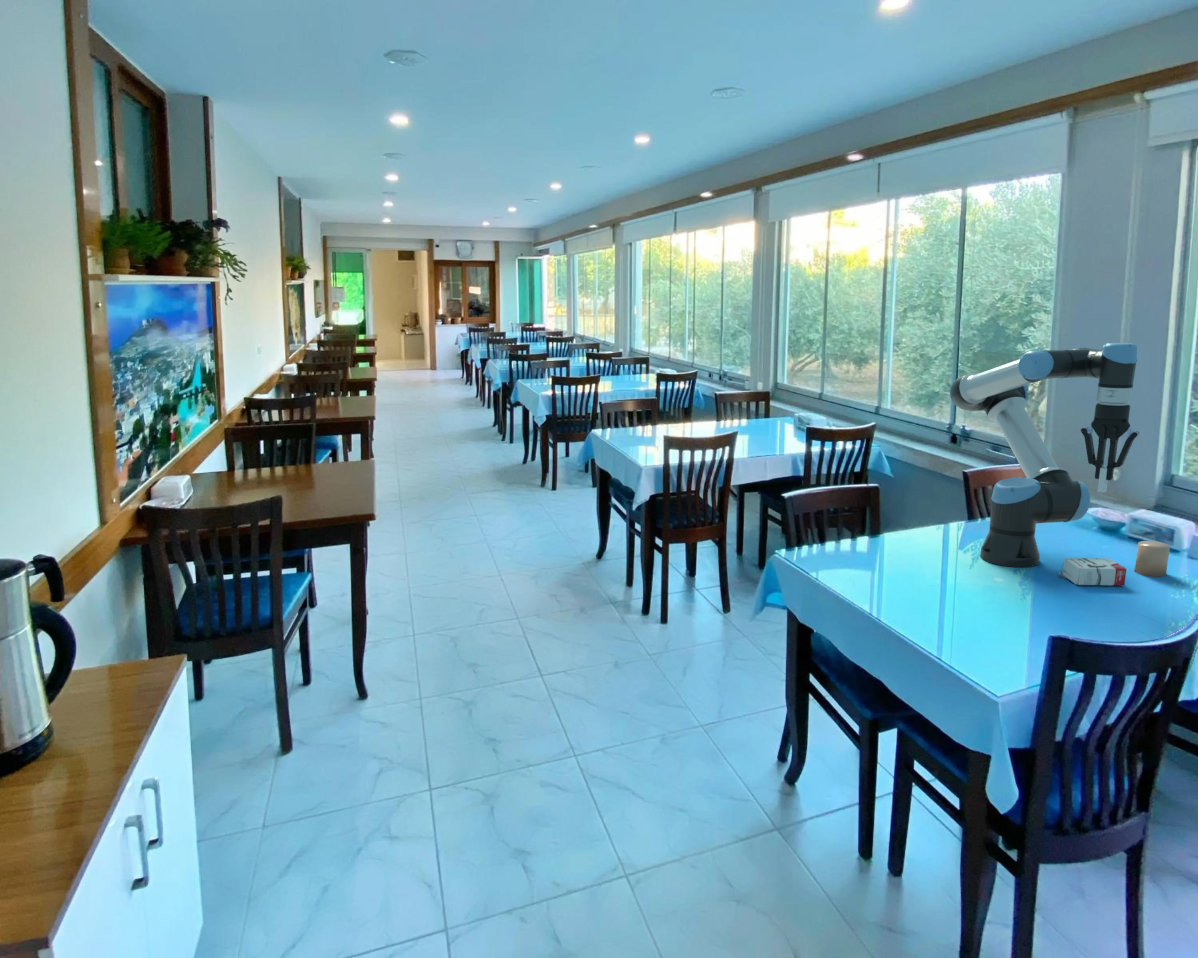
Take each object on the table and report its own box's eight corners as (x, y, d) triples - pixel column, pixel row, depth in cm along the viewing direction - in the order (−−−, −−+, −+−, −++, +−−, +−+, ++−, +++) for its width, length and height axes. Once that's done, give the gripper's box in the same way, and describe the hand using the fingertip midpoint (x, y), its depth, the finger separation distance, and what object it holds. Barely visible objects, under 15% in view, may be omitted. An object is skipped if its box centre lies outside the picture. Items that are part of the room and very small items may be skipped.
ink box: (1127, 568, 198) (1079, 568, 199) (1125, 586, 199) (1077, 585, 201) (1109, 557, 207) (1063, 557, 208) (1106, 574, 208) (1061, 574, 209)
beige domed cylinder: (1132, 573, 209) (1135, 545, 208) (1137, 566, 214) (1141, 539, 212) (1163, 578, 205) (1167, 550, 203) (1168, 572, 209) (1172, 544, 208)
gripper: (1080, 403, 201) (1070, 490, 206) (1139, 406, 192) (1127, 498, 197) (1088, 400, 206) (1078, 485, 212) (1146, 403, 197) (1134, 492, 202)
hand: (1101, 491), depth 204 cm, fingers closed
